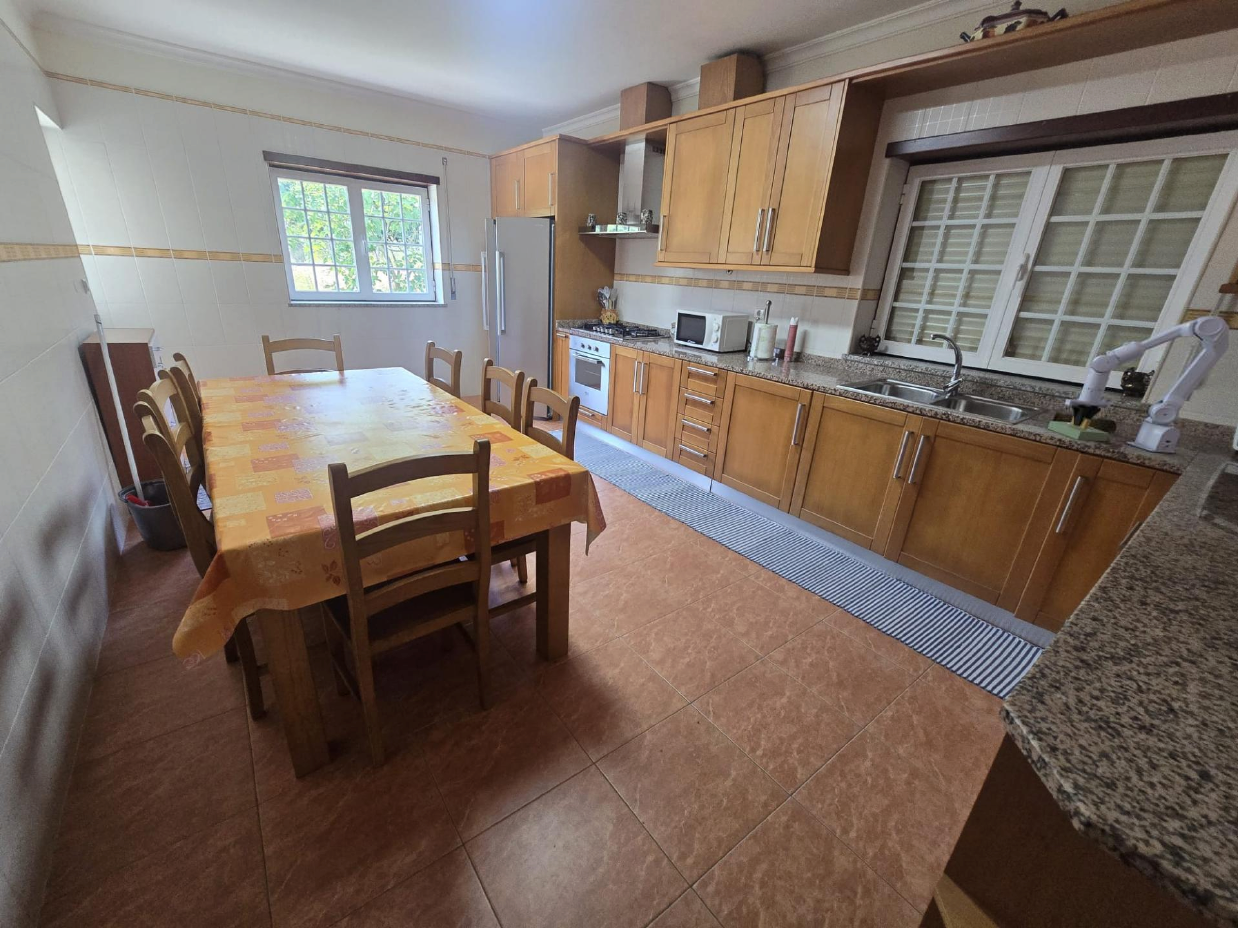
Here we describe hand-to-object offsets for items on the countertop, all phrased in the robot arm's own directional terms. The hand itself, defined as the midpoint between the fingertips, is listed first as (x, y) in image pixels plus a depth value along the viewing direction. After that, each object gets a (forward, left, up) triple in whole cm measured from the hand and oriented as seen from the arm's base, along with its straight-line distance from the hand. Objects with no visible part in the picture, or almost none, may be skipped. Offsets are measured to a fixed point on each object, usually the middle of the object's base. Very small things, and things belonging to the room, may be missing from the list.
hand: (1079, 425), depth 184 cm
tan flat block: (0, 0, 0) cm, 0 cm away
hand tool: (+15, -15, -4) cm, 22 cm away
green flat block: (0, 0, -3) cm, 3 cm away
